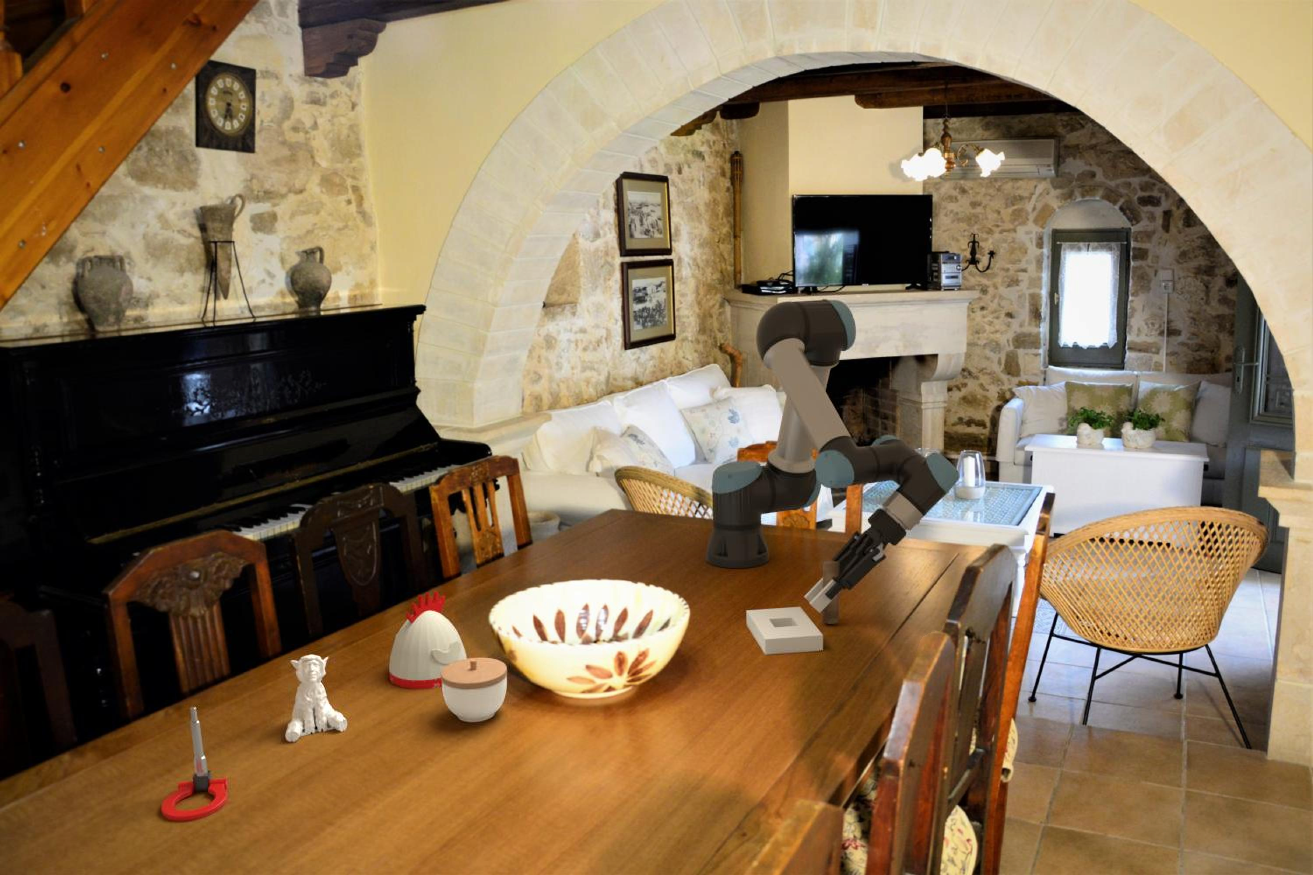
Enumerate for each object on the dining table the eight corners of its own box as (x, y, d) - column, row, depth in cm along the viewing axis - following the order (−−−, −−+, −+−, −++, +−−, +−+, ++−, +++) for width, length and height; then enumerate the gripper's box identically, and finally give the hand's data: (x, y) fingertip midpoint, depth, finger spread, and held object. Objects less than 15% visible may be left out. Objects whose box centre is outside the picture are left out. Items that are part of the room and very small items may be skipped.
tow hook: (218, 820, 144) (235, 784, 153) (207, 734, 141) (225, 702, 150) (154, 827, 143) (174, 789, 152) (141, 740, 140) (163, 707, 149)
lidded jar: (520, 704, 178) (517, 651, 176) (490, 732, 168) (487, 676, 166) (463, 697, 181) (460, 645, 180) (430, 723, 171) (427, 669, 170)
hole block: (746, 624, 213) (746, 610, 212) (800, 620, 214) (800, 606, 214) (765, 654, 197) (765, 639, 197) (822, 650, 198) (822, 635, 198)
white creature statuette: (286, 744, 165) (280, 671, 163) (278, 723, 173) (272, 653, 171) (348, 730, 170) (342, 659, 168) (337, 710, 177) (332, 642, 175)
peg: (820, 618, 213) (821, 561, 211) (835, 617, 214) (836, 560, 211) (825, 624, 210) (825, 566, 208) (840, 623, 211) (841, 565, 208)
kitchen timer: (483, 671, 192) (479, 592, 190) (419, 695, 182) (413, 612, 180) (437, 652, 202) (433, 577, 199) (374, 675, 192) (368, 595, 189)
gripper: (922, 543, 203) (836, 631, 204) (892, 520, 218) (813, 602, 219) (896, 517, 201) (810, 606, 202) (868, 497, 217) (788, 579, 218)
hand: (811, 604), depth 211 cm, fingers closed on peg, 3 cm apart
